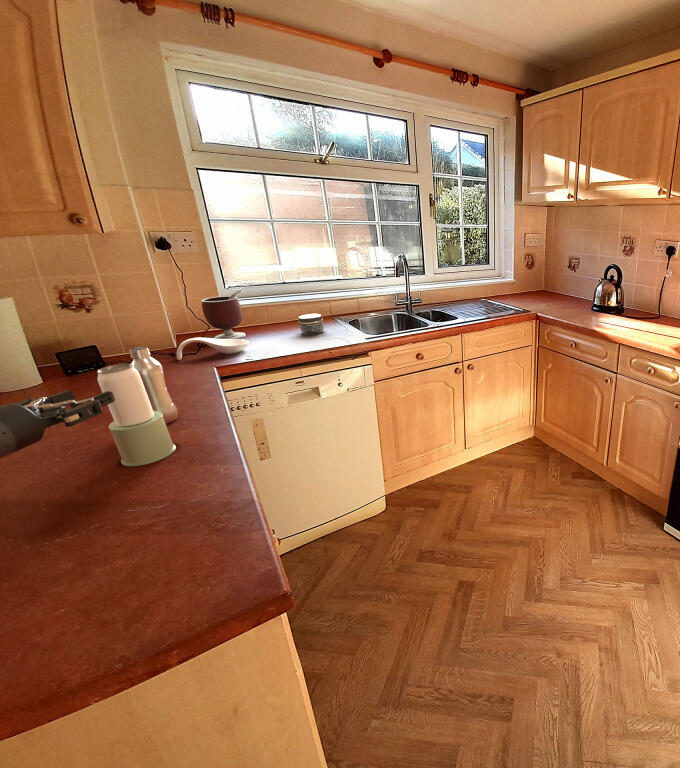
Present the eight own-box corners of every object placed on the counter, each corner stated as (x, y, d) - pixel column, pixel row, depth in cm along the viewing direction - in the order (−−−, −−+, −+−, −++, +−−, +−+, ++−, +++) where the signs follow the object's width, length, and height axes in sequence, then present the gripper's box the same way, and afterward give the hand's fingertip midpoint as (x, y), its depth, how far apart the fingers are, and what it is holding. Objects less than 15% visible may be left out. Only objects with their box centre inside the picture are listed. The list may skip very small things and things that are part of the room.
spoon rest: (249, 345, 175) (245, 328, 172) (251, 352, 166) (247, 334, 163) (179, 356, 163) (173, 338, 160) (177, 364, 154) (170, 345, 151)
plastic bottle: (147, 430, 106) (118, 354, 98) (151, 420, 111) (123, 347, 103) (179, 424, 109) (153, 350, 101) (181, 414, 114) (156, 343, 107)
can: (140, 426, 88) (119, 373, 83) (107, 428, 88) (85, 374, 83) (162, 413, 94) (143, 362, 89) (131, 414, 93) (111, 363, 89)
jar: (328, 332, 193) (325, 315, 190) (306, 336, 186) (302, 319, 184) (319, 328, 200) (316, 312, 197) (297, 332, 193) (294, 316, 190)
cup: (139, 471, 88) (123, 433, 85) (112, 463, 92) (96, 426, 88) (186, 449, 97) (174, 414, 93) (159, 442, 100) (147, 407, 97)
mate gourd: (208, 343, 179) (194, 295, 171) (215, 335, 191) (202, 290, 183) (249, 338, 184) (237, 292, 177) (253, 331, 196) (243, 288, 189)
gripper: (19, 416, 65) (118, 378, 80) (-63, 413, 66) (50, 376, 81) (40, 457, 68) (132, 413, 83) (-38, 455, 69) (66, 411, 84)
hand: (91, 395), depth 82 cm, fingers open, 8 cm apart
